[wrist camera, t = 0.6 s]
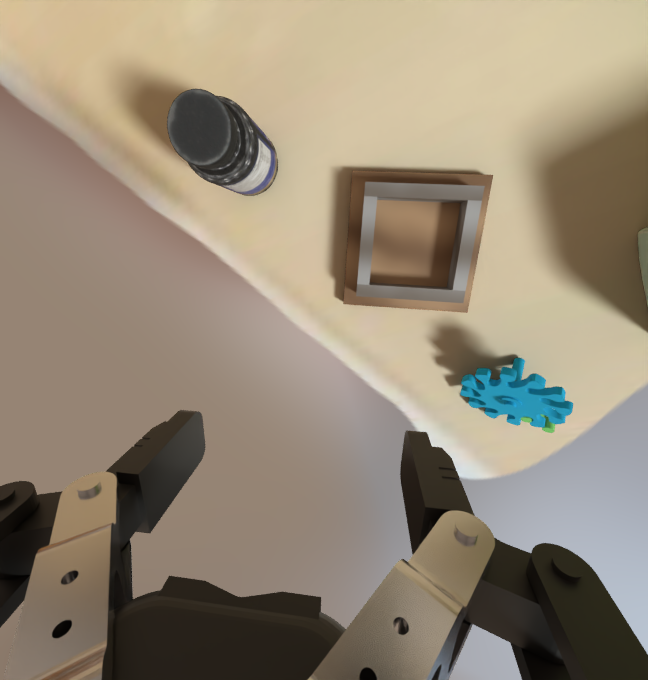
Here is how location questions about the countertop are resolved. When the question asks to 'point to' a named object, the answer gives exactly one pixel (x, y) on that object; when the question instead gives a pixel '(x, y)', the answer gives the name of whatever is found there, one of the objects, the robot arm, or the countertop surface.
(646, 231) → the planter
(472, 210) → the framed wooden base
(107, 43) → the countertop surface
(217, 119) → the pill bottle
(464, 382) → the gear
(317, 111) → the countertop surface
